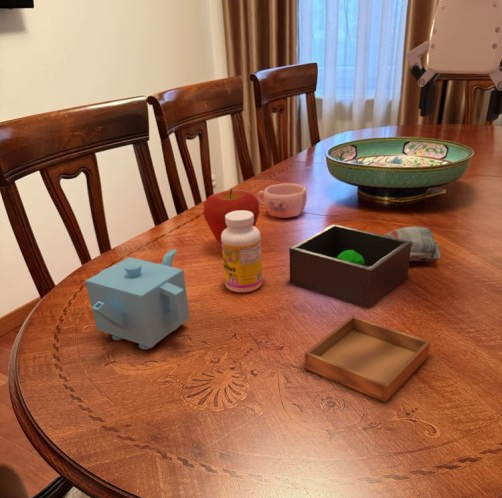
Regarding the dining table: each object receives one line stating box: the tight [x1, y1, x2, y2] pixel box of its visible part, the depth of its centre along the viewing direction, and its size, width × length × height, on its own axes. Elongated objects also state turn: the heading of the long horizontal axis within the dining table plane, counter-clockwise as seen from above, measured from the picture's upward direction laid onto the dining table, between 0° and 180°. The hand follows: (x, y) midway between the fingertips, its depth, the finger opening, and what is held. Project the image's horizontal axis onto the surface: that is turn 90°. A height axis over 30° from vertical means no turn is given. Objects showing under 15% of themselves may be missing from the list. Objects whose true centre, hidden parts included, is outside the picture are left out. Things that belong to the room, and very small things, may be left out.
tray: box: [304, 315, 431, 403], centre depth 69 cm, size 12×12×2 cm
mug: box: [256, 183, 308, 219], centre depth 120 cm, size 12×10×6 cm
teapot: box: [84, 248, 191, 350], centre depth 77 cm, size 16×18×11 cm
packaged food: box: [383, 226, 442, 263], centre depth 97 cm, size 9×12×5 cm
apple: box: [203, 188, 260, 246], centre depth 103 cm, size 11×11×12 cm
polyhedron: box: [337, 250, 364, 266], centre depth 89 cm, size 5×5×5 cm
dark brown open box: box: [288, 223, 412, 309], centre depth 89 cm, size 16×14×7 cm
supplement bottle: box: [221, 210, 263, 293], centre depth 88 cm, size 7×7×13 cm
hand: (458, 117), depth 75 cm, fingers open, 9 cm apart
